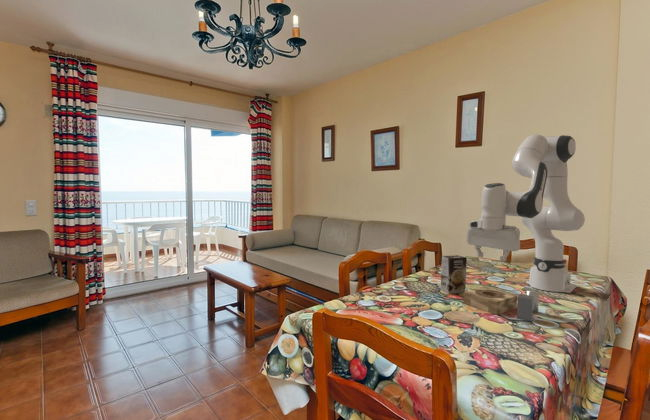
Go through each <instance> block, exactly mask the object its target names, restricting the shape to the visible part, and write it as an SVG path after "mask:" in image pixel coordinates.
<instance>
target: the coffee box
mask: <svg viewBox="0 0 650 420" xmlns="http://www.w3.org/2000/svg"><path fill="white" fill-rule="evenodd" d="M467 260H468V259H467V257H466V256H462V255H441V270H440V291H442V292H444V293H446V294H449V295H450V294H462V293H463V294H464V292H465V291H466V284H467V283H466V282H467V280H466V279H467Z"/></svg>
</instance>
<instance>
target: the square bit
mask: <svg viewBox="0 0 650 420" xmlns="http://www.w3.org/2000/svg"><path fill="white" fill-rule="evenodd" d="M533 304H534V296H529V295H526V294H523V293H522V294H521V293H519V294H518V295H517V308H516V319H517V320H521V321H527V322H531V323H532V321H533V318H534V314H533Z"/></svg>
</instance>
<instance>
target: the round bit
mask: <svg viewBox="0 0 650 420" xmlns="http://www.w3.org/2000/svg"><path fill="white" fill-rule="evenodd" d="M525 295H529V296H534V304H533V315H537V314H539V303H540V292H539V291H538V290H535V289H526V290H525Z"/></svg>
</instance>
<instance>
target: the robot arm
mask: <svg viewBox="0 0 650 420" xmlns="http://www.w3.org/2000/svg"><path fill="white" fill-rule="evenodd" d="M575 153H576V140H575V139H574V138H573V137H572V136H570V135H565V134H564V135H554V136H553V135H552V136H543V135H540V134H531V135H528V136H527V137H526V138H524V140H523V141H522V143H520V145H519V146H518V148H517V150H516V151H515V153H514V155H513V157H512V161H511V166H512V168H513V170H514V171H515V172H516V173H517V174H518V175H520V176H522V177H525V178H530V186H529V189H528V190H525V191H509V190H507V188H506V184H504V183H501V182H496V183H495V182H493V183H488V184H485V185H484V186H483V188H482V193H481V198H480V199H481V200H480V207H481V213H480V219H477V220H473V221H469V222H468V227H469V228H468V229H467V232H466V243H467V244H468V245H471V246H474V249H475V250H476V252H477V257H479V258H483V257H484V252H482V250H481V248H482V247H484V248H490V249H497V250H502V251H503V253H504V254H502V255H501V256H499V258H500V259H499V261H500V262H507V257H508V256H509V254H511V253H510V252H517V251H519V250H520V249H521V240H520V236H521V231H520V229H519V228H518V227H517V226H515V225H513V226H511V225H506V223H507V222H506V221H507V220H506V218H507V216H509V217H520V220H521V222H522V224H523V226H525V227H526V228H527V229H529V231H530V232H531V234H532V237H533V239H534V242H535V243H534V244H535V251H534V252H535V255H534V257H533V264H534V265H533V266H531V267H530V270H529V280H526V283H525V284H527V285H529V286H530V287H532V288H534V289H537V290H541V291H547V292H553V293H567V294H569V293H570V294H571V293H572V292H574V290H575V289H576V288H577V284H575V283H572V282H571V281H572V276H571V273H570V272H569V271H568V270H567V269H566V265H567V262H568V260H567V259H564V249H565V245H564V243H563V241H561V239H559V238H557V237H556V236H554V234H553V232H552V231H561V232H562V231H563V232H570V231H571V232H573V231H579V230H580V229H582V227H583V226H584V224H585V222H586V221H585V220H586V219H585V218H586V217H585V215H584V212H583V211H582V210H580V209H578V208H577V206H575V204H573V203H572V201H571V199H570V196H569V192H568V175H569V174H568V173H569V172H568V171H569V170H568V169H569V168H568V161H569V160H570V159H571V158H572V157H573V156H574V155H575ZM544 199H546V200H547V201H549V203H550V206H544V205H543V203H544V202H543V201H544Z"/></svg>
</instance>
